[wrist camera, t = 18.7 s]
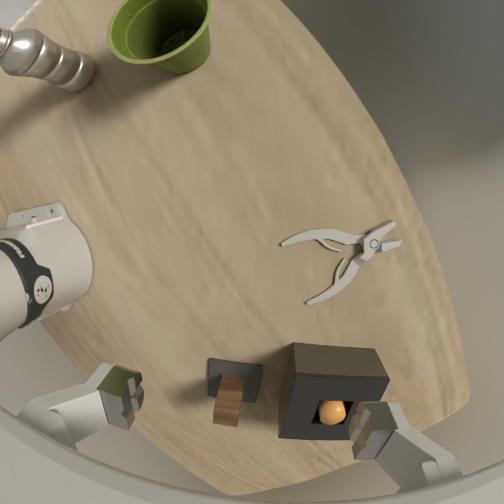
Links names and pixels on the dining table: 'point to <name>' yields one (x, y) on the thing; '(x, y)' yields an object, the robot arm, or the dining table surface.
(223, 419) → the wood grain block
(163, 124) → the dining table surface
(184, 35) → the plant pot
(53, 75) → the silver metal bottle
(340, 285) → the pliers
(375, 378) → the box
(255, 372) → the pad
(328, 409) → the egg
